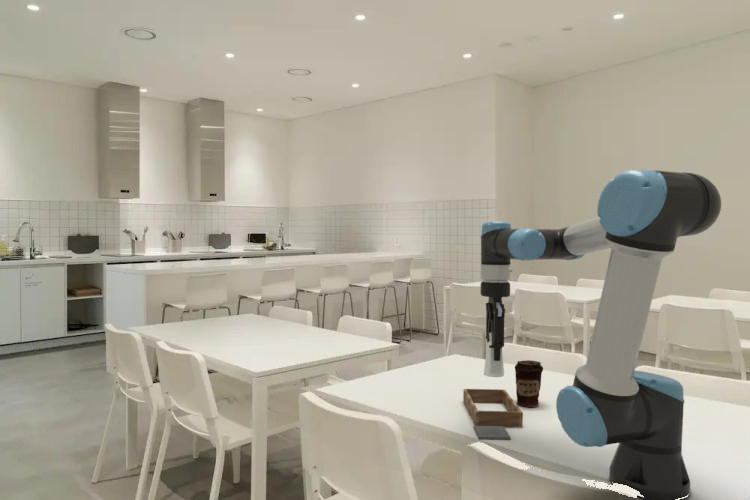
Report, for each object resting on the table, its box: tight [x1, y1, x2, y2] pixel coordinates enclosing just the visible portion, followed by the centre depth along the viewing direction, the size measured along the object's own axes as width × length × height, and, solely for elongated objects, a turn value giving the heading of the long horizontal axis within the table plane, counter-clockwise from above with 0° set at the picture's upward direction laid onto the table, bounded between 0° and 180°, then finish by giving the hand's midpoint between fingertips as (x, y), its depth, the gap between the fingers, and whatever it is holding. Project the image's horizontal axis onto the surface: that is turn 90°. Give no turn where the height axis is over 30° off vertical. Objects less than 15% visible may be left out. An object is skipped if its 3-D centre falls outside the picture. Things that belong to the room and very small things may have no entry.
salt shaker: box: [483, 332, 505, 378], centre depth 146 cm, size 5×5×11 cm
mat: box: [472, 425, 512, 441], centre depth 145 cm, size 8×8×1 cm
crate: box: [462, 388, 524, 428], centre depth 160 cm, size 22×13×4 cm, turn 0°
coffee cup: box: [514, 359, 544, 408], centre depth 169 cm, size 9×8×13 cm
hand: (494, 370), depth 146 cm, fingers closed on salt shaker, 4 cm apart
